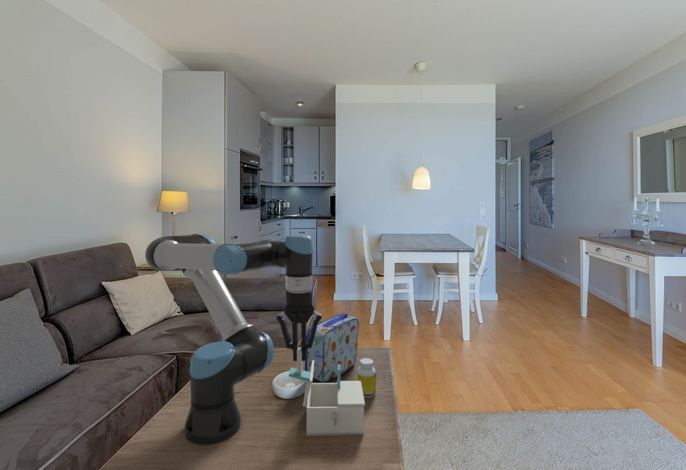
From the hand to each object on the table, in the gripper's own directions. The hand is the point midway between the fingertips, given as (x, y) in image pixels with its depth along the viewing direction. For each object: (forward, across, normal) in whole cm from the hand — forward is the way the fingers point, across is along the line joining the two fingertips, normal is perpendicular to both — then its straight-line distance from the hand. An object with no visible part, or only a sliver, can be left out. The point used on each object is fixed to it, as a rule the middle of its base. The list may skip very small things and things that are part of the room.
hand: (299, 371), depth 100 cm
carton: (+17, +10, +2) cm, 20 cm away
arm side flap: (+5, +3, +3) cm, 7 cm away
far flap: (+9, +15, +3) cm, 17 cm away
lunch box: (+17, +10, +35) cm, 41 cm away
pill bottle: (+17, +21, +18) cm, 33 cm away
